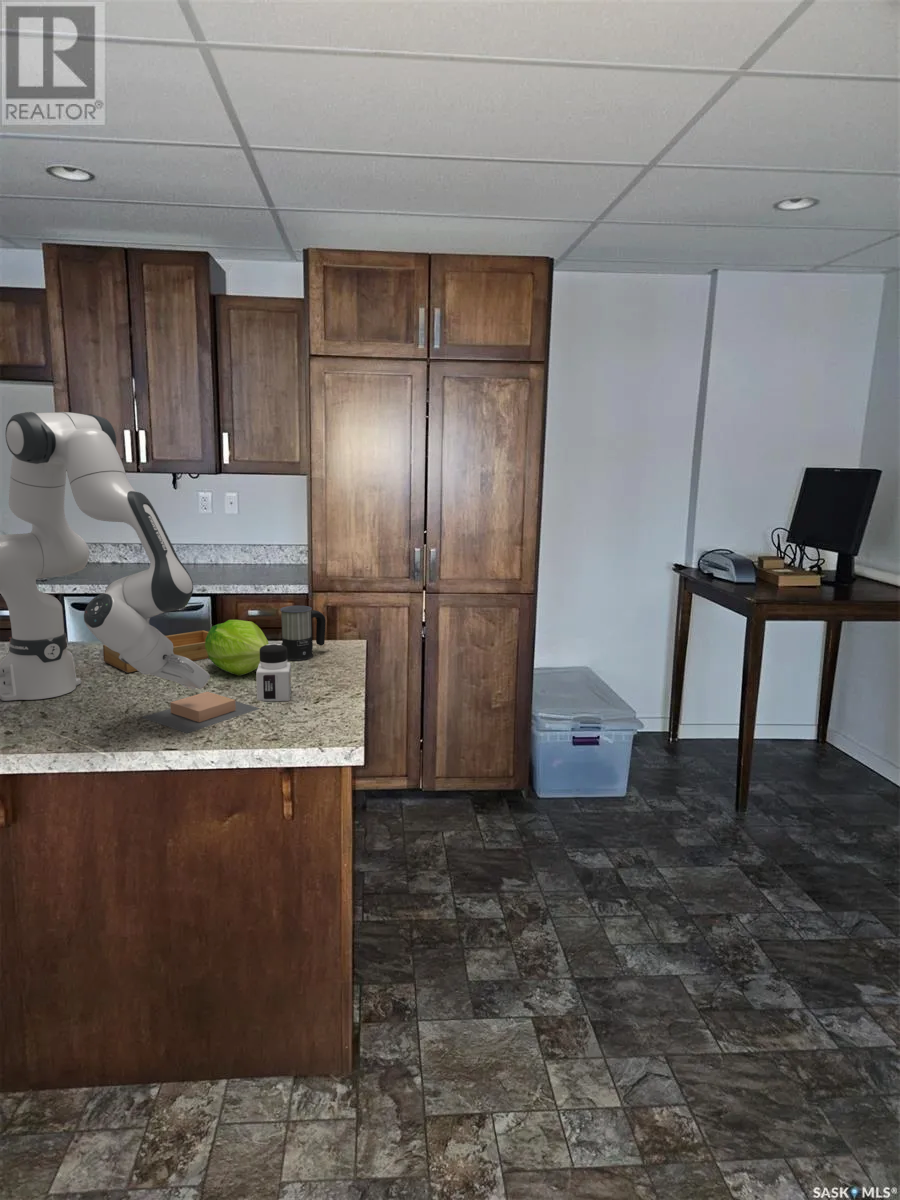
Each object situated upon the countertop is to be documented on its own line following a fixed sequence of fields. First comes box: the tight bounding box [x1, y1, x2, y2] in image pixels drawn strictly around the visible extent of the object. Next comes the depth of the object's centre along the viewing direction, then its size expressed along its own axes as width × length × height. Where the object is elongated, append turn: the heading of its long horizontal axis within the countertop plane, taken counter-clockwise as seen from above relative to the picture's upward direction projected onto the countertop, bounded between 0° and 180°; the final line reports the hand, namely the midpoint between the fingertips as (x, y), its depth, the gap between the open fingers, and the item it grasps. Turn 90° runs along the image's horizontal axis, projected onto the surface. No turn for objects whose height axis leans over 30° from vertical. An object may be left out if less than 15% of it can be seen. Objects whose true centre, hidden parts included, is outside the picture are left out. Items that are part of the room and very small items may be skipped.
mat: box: [141, 700, 261, 734], centre depth 167 cm, size 16×20×1 cm
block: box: [169, 691, 236, 722], centre depth 167 cm, size 10×3×10 cm
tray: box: [102, 630, 209, 673], centre depth 212 cm, size 31×15×6 cm, turn 137°
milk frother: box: [280, 605, 327, 662], centre depth 220 cm, size 14×16×15 cm
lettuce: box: [205, 619, 269, 676], centre depth 200 cm, size 15×23×16 cm
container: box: [255, 643, 292, 703], centre depth 179 cm, size 8×8×13 cm
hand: (192, 686), depth 163 cm, fingers closed
